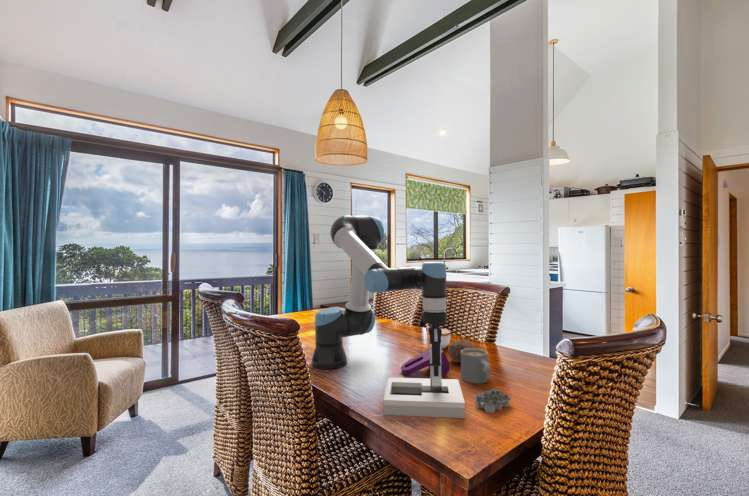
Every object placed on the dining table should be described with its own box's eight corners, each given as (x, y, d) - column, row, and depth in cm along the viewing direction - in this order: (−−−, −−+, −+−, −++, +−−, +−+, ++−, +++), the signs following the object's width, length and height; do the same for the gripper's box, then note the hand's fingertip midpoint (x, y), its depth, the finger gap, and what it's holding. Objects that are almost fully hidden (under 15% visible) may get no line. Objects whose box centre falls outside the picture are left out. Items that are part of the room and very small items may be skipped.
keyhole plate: (383, 414, 107) (383, 399, 107) (388, 390, 125) (388, 377, 125) (465, 418, 104) (464, 402, 104) (458, 392, 122) (458, 379, 122)
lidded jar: (426, 344, 181) (426, 325, 181) (447, 343, 182) (446, 324, 182) (432, 350, 170) (432, 331, 170) (454, 349, 172) (453, 330, 171)
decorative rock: (468, 369, 145) (467, 344, 145) (443, 363, 152) (442, 340, 151) (480, 360, 155) (479, 337, 155) (456, 355, 162) (455, 333, 162)
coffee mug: (456, 374, 139) (456, 349, 139) (480, 372, 141) (480, 347, 141) (471, 388, 126) (471, 360, 126) (497, 385, 127) (497, 358, 127)
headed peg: (423, 406, 111) (422, 349, 111) (423, 395, 119) (422, 342, 118) (450, 407, 110) (449, 349, 110) (447, 396, 118) (447, 342, 117)
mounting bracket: (411, 392, 137) (453, 371, 138) (402, 373, 137) (443, 351, 137) (408, 382, 147) (447, 362, 147) (399, 364, 146) (438, 344, 147)
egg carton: (489, 415, 106) (489, 401, 106) (471, 405, 113) (471, 392, 113) (513, 406, 112) (513, 394, 111) (495, 398, 118) (495, 385, 118)
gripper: (448, 315, 105) (449, 394, 105) (444, 305, 122) (445, 373, 122) (423, 315, 106) (424, 393, 106) (422, 305, 123) (423, 373, 123)
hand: (435, 382), depth 114 cm, fingers closed on headed peg, 3 cm apart
